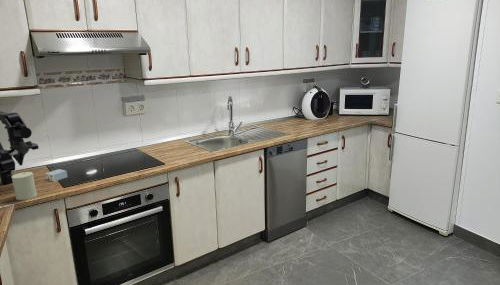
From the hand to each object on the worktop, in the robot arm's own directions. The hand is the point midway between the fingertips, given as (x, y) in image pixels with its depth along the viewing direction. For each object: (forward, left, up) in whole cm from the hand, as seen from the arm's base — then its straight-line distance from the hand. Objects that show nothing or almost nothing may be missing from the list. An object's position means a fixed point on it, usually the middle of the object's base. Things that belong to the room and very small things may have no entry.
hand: (21, 165), depth 193 cm
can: (+16, -7, -12) cm, 21 cm away
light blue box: (+4, +12, -10) cm, 16 cm away
